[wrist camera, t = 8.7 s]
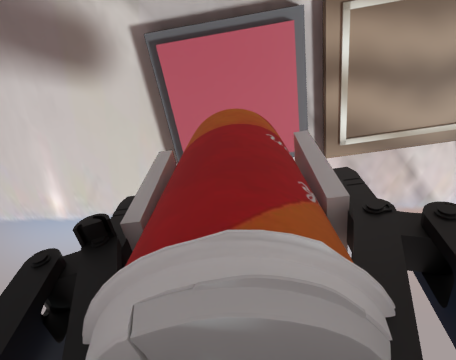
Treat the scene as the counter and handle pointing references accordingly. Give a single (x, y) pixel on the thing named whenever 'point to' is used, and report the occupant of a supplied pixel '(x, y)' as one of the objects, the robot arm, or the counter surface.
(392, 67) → the marked board
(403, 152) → the counter surface
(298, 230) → the paper cup
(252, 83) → the ink pad
